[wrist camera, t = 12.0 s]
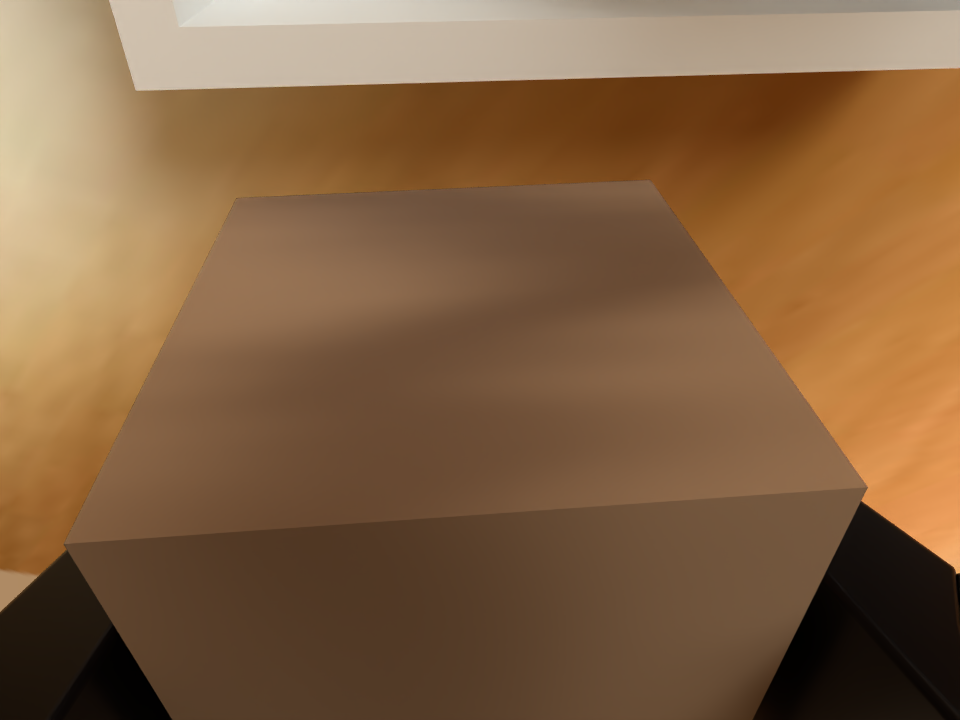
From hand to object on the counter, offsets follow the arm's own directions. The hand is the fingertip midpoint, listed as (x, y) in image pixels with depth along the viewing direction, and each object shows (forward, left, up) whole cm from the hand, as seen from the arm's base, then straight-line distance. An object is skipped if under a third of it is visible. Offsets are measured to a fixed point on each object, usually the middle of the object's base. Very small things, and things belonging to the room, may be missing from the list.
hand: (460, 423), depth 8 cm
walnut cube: (0, 0, -2) cm, 2 cm away
